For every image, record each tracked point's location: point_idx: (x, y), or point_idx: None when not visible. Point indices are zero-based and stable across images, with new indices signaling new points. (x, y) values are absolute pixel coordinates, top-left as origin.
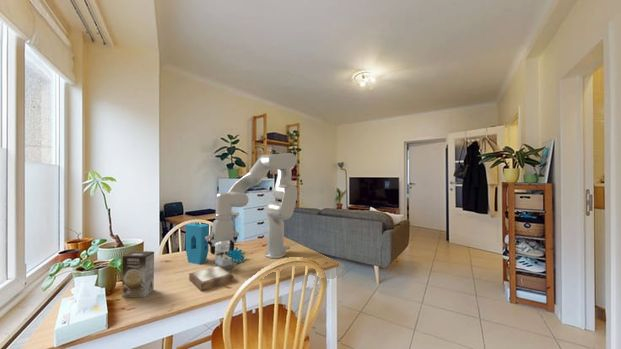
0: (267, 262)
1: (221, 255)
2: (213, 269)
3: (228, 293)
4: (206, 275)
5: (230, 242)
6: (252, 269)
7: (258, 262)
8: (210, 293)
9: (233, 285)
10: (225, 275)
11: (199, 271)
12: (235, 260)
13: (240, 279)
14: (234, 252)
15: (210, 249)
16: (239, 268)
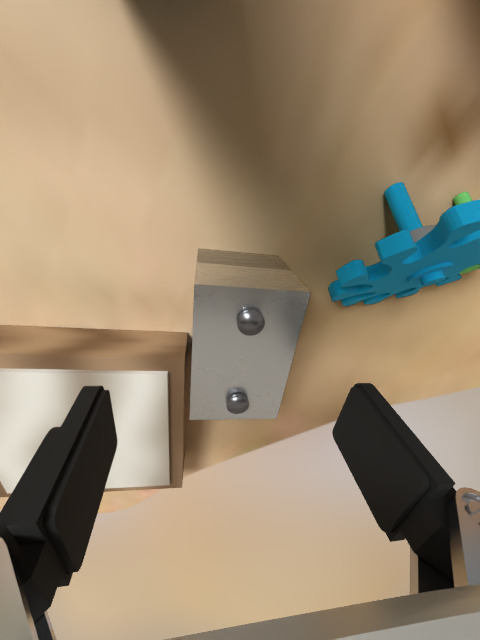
0: (447, 387)
1: (250, 326)
2: (112, 403)
3: (122, 508)
4: None
5: (411, 502)
6: (331, 410)
7: (431, 359)
8: None
9: None
10: (143, 484)
11: (2, 378)
12: (357, 300)
13: (218, 456)
14: (441, 260)
15: (33, 468)
16: (303, 363)
